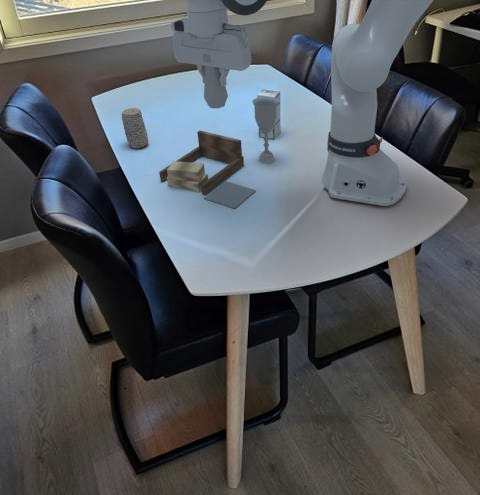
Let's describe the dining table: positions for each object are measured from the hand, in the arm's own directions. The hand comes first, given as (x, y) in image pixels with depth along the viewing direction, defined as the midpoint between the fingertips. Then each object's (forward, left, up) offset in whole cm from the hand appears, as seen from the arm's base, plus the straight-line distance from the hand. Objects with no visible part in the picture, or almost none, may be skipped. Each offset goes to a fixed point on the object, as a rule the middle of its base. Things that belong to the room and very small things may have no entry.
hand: (214, 84), depth 116 cm
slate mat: (-4, +3, -29) cm, 29 cm away
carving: (+40, -8, -29) cm, 50 cm away
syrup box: (+6, -34, -29) cm, 45 cm away
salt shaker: (0, 0, -5) cm, 5 cm away
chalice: (-2, -19, -29) cm, 35 cm away
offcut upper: (+10, +3, -26) cm, 28 cm away
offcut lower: (+10, +3, -29) cm, 31 cm away
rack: (+10, -2, -29) cm, 30 cm away
